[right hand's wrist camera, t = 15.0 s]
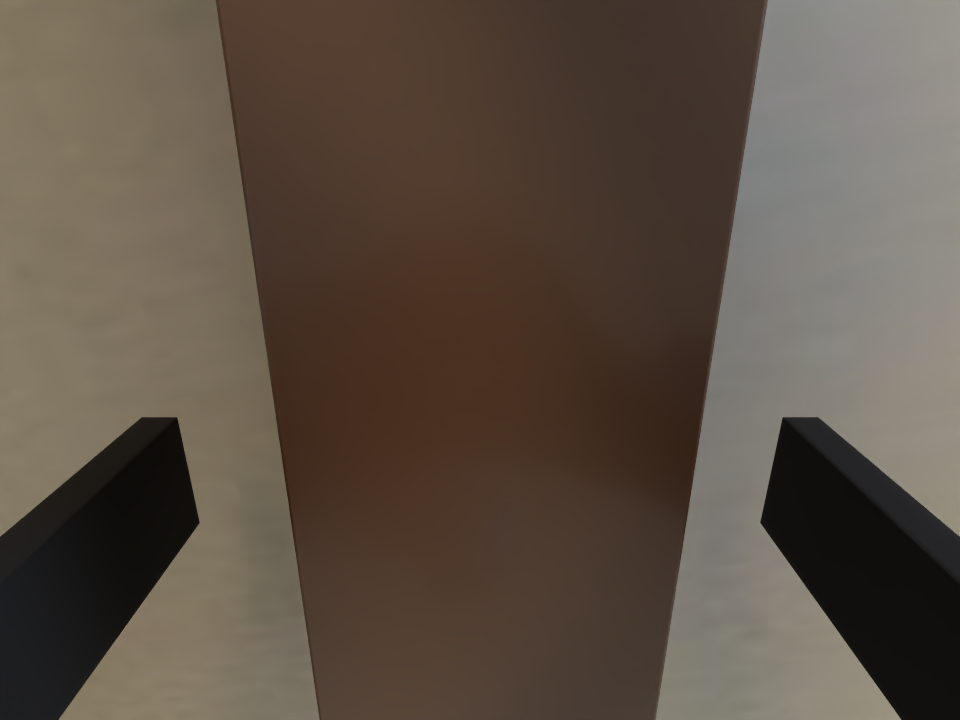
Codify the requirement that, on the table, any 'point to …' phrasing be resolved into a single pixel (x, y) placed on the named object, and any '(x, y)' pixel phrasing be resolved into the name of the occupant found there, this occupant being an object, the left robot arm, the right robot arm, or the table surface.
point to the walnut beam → (489, 330)
